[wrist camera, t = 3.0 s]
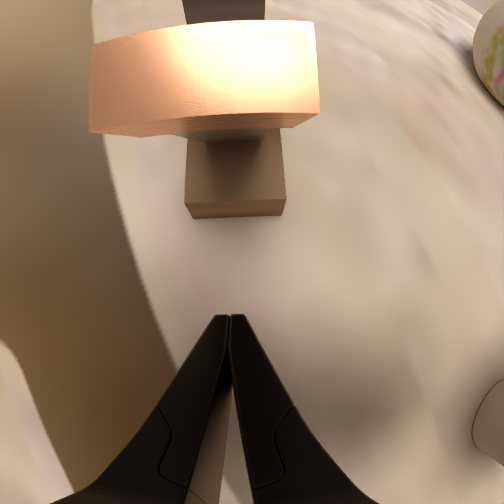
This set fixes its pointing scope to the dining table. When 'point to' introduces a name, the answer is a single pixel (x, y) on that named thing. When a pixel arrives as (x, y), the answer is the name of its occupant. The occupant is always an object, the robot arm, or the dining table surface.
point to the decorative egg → (491, 51)
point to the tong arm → (205, 81)
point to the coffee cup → (491, 424)
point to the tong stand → (233, 146)
